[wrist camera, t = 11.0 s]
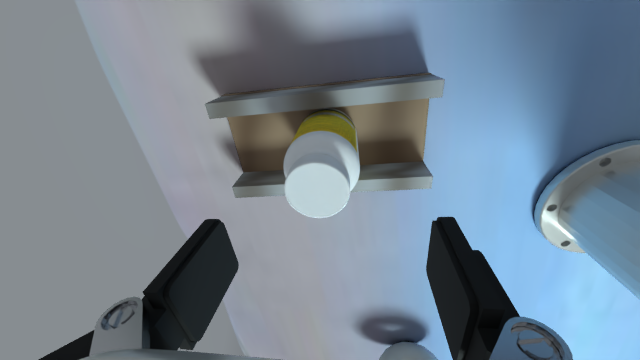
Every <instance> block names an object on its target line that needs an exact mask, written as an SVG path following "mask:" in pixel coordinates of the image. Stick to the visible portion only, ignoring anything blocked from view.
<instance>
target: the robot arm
mask: <svg viewBox="0 0 640 360" xmlns="http://www.w3.org/2000/svg"><path fill="white" fill-rule="evenodd" d="M534 217H535V224H536V226H537V229H538V231H539V232H540V233H541V234H542V235H543V237H544V238H545V239H547V240H548V241H549V242H550V243H551V244H552V245H554V246H556V247H558V248H560V249H563V250H567V251H570V252H578V253H587V254H588V255H589V256H590V257H591V258H592V259H594V260H595V261H596V262H597V263H598V264H599V265H600V266H602V267H603V268H604V269H605V270H606V271H607V272H608V273H609V274H611V275H612V276H613V277H614V278H615V279H616V280H617V281H619V282H620V283H621V284H622V285H623V286H624V287H625V288H627V289H628V290H629V291H630V292H631V293H632V294H633V295H634V296H636V297H637V298H638V299H639V300H640V140H632V141H627V142H622V143H617V144H613V145H611V146H608V147H605V148H602V149H599V150H596V151H594V152H592V153H590V154H588V155H586V156H584V157H582V158H580V159H579V160H577V161H576V162H574V163H572V164H571V165H569V166H568V167H566V168H565V169H564V170H563V171H562V172H560V173H559V174H558V175H557V176H556V177H555V178H554V179H553V180H552V181H551V182H550V183H549V184H548V185H547V186H546V188H545V189H544V191H543V192H542V194H541V195H540V197H539V200H538V202H537V204H536V208H535V213H534ZM238 266H239V265H238V261H237V258H236V255H235V252H234V250H233V247H232V244H231V241H230V239H229V236H228V233H227V230H226V228H225V225H224V223H223V222H221V221H220V220H219V219H206V220H205V221H204V222H203V223H202V224H201V225H200V226H199V228H198V229H197V230H196V231H195V232H194V233H193V234H192V236H191V237H190V238H189V239H188V240H187V241H186V243H185V244H184V245H183V246H182V247H181V248H180V250H179V251H178V252H177V253H176V254H175V256H174V257H173V258H172V259H171V260H170V261H169V262H168V263H167V265H166V266H165V267H164V268H163V269H162V270H161V272H160V273H159V274H158V275H157V276H156V277H155V279H154V280H153V281H152V282H151V283H150V284H149V285H148V287H147V288H146V289H145V290H144V291H143V293H144V295H145V296H144V297H143V299H142V300H141V299H140V298H138V297H131V298H126V299H124V300H121V301H119V302H117V303H116V304H114V305H113V306H111V307H110V308H109V309H107V310H106V311H105V312H104V313H103V314H102V315H101V317H100V318H99V319H98V321H97V324H96V326H95V330H93V331H91V332H90V333H88V334H86V335H84V336H82V337H80V338H78V339H76V340H74V341H73V342H71V343H69V344H67V345H65V346H63V347H61V348H59V349H58V350H56V351H54V352H52V353H50V354H48V355H46V356H44V357H43V358H41V359H39V360H281V359H270V358H259V357H248V356H236V355H224V354H213V353H200V352H188V351H177V350H178V348H179V347H180V349H187V350H193V348H194V346H195V344H196V343H197V341H199V340H201V338H202V337H203V335H204V333H205V331H206V329H207V327H208V325H209V323H210V322H211V319H212V318H213V316H214V314H215V312H216V310H217V308H218V306H219V304H220V303H221V301H222V299H223V297H224V295H225V293H226V291H227V289H228V287H229V286H230V284H231V282H232V280H233V278H234V276H235V274H236V272H237V270H238ZM426 270H427V276H428V280H429V283H430V286H431V289H432V293H433V296H434V299H435V303H436V306H437V309H438V313H439V316H440V319H441V322H442V326H443V329H444V332H445V336H446V339H447V342H448V345H449V349H450V352H451V355H452V358H453V360H573V359H572V353H571V351H570V349H569V347H568V345H567V344H566V343H565V341H564V340H563V339H562V338H561V337H560V336H559V335H558V334H557V333H556V332H555V331H554V330H552V329H551V328H549V327H548V326H546V325H545V324H543V323H541V322H538V321H536V320H534V319H531V318H526V317H520V316H519V314H518V312H517V311H516V309H515V307H514V306H513V304H512V302H511V301H510V299H509V297H508V296H507V294H506V292H505V291H504V289H503V287H502V286H501V284H500V282H499V281H498V279H497V277H496V276H495V274H494V272H493V271H492V269H491V267H490V266H489V264H488V262H487V261H486V259H485V257H484V255H483V254H482V253H481V252H480V251H479V250H472V249H471V247H470V245H469V243H468V241H467V240H466V238H465V236H464V234H463V232H462V231H461V229H460V227H459V225H458V224H457V222H456V220H455V218H454V217H438V218H437V221H433V222H432V227H431V235H430V243H429V251H428V259H427V267H426Z"/></svg>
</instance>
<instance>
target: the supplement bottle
mask: <svg viewBox="0 0 640 360" xmlns="http://www.w3.org/2000/svg"><path fill="white" fill-rule="evenodd" d="M283 168H284V175H285V178H286V179H285V184H284V192H285V196H286V198H287V201H288V202H289V204H290V205H291V206H292V207H293V208H294V209H295V210H296V211H298V212H299V213H301V214H303V215H305V216H309V217H313V218H324V217H329V216H332V215H334V214H336V213H338V212H339V211H341V210H342V209H343V208H344V207H345V205H346V204H347V202H348V200H349V196H350V192H351V190H352V189H353V188H354V187H355V185H356V183H357V181H358V178H359V173H360V161H359V152H358V141H357V132H356V128H355V125H354V123H353V122H352V120H351V119H350V118H349V117H348V116H347V115H346V114H345V113H343V112H341V111H339V110H336V109H332V108H323V109H319V110H316V111H314V112H312V113H310V114H309V115H308V116H307V117H306V118H305V119H304V120H303V122H302V123H301V125H300V127H299V129H298V131H297V132H296V135H295V136H294V138H293V140H292V142H291V144H290V146H289V147H288V150H287V152H286V155H285V158H284V164H283Z"/></svg>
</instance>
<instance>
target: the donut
mask: <svg viewBox="0 0 640 360" xmlns="http://www.w3.org/2000/svg"><path fill="white" fill-rule="evenodd" d="M379 360H438V359H437V358H436V357H435V355H434V354H433V353H431V352H430V351H429V350H427V349H426V348H425V347H423V346H421V345H418V344H416V343H413V342H400V343H396V344H393V345H392V346H390V347H389V348H387V349H386V350H385V351H384V353H383V354H382V355H381V357H380V359H379Z"/></svg>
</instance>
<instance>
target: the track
mask: <svg viewBox="0 0 640 360" xmlns="http://www.w3.org/2000/svg"><path fill="white" fill-rule="evenodd" d="M444 80H445V79H442V78H440V77H437V76H435V75H432V74H431V73H420V74H410V75H401V76H392V77H382V78H373V79H363V80H354V81H345V82H335V83H326V84H317V85H307V86H298V87H288V88H279V89H270V90H260V91H251V92H241V93H232V94H224V95H222V96H221V97H219V98H217V99H215V100H212V101H210V102H208V103H206V104H205V106H206V109H207V112H208V115H209V118H210V119H214V118H224V117H227V118H228V121H229V125H230V128H231V131H232V135H233V138H234V142H235V145H236V149H237V152H238V155H239V159H240V162H241V166H242V169H243V174H242V175H241V176H240V178H239V179H238V180H237V181H236V183H235V184H234V185H233V187H232V188H233V191H234V194H235V197H236V198H242V197H263V196H284V195H285V192H284V184H285V179H286V178H285V175H284V168H283V164H284V158H285V155H286V152H287V150H288V147H289V146H290V144H291V142H292V140H293V138H294V136H295V135H296V132H297V131H298V129H299V127H300V125H301V123H302V122H303V120H304V119H305V118H306V117H307V116H308V115H309V114H310V113H312V112H314V111H316V110H319V109H323V108H332V109H336V110H339V111H341V112H343V113H345V114H346V115H347V116H348V117H349V118H350V119H351V120H352V122H353V123H354V125H355V128H356V132H357V141H358V152H359V161H360V173H359V178H358V181H357V183H356V185H355V187H354V188H353V189H352V190H351V192H368V191H389V190H410V189H431V187H432V178H433V176H432V174H431V173H430V171H429V170H428V168H427V167H426V165H425V164H424V162H423V157H424V146H425V136H426V126H427V115H428V105H429V98H438V97H442V96H443V88H444Z"/></svg>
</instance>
